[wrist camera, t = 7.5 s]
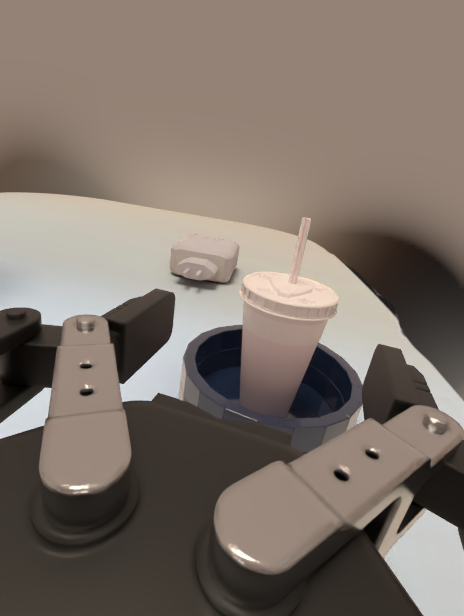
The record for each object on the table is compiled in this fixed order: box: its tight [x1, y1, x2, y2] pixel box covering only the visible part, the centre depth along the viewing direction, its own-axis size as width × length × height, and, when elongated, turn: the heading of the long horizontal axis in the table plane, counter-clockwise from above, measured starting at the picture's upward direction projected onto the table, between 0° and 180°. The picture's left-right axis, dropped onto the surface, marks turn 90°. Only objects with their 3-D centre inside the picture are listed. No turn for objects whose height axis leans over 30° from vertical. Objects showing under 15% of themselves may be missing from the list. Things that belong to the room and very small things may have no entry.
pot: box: [179, 325, 363, 454], centre depth 25 cm, size 13×13×4 cm
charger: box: [170, 234, 239, 283], centre depth 53 cm, size 5×9×15 cm
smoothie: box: [239, 218, 339, 418], centre depth 23 cm, size 6×6×14 cm
